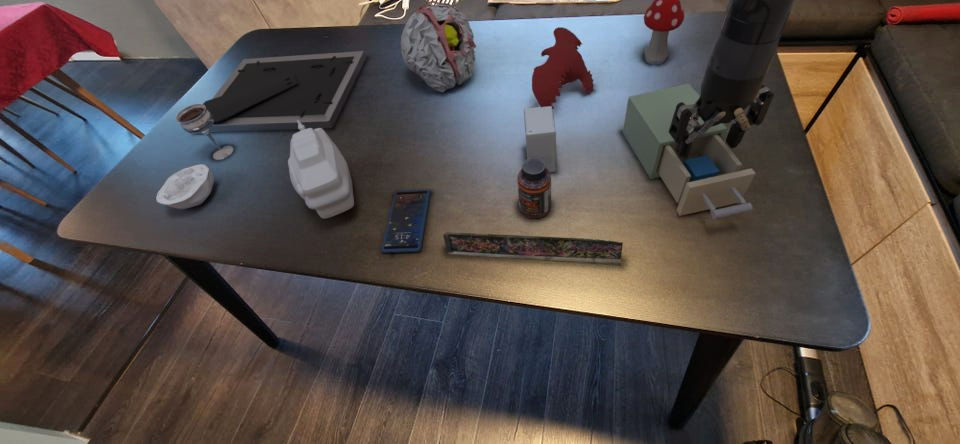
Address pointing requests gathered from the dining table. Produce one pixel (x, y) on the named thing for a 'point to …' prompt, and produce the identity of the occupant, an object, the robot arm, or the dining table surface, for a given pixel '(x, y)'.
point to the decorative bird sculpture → (560, 68)
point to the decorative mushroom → (661, 27)
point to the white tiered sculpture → (320, 172)
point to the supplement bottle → (534, 188)
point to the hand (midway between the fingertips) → (706, 150)
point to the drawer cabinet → (658, 123)
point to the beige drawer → (709, 190)
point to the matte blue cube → (701, 168)
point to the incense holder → (534, 248)
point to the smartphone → (406, 222)
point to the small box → (541, 135)
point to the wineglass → (201, 126)
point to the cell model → (187, 187)
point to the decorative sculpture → (439, 45)
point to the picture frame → (285, 92)
